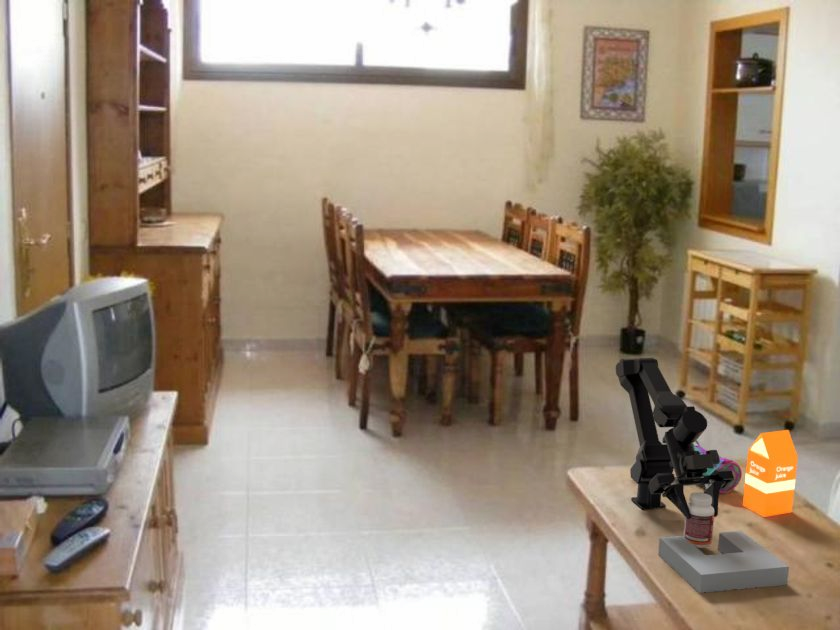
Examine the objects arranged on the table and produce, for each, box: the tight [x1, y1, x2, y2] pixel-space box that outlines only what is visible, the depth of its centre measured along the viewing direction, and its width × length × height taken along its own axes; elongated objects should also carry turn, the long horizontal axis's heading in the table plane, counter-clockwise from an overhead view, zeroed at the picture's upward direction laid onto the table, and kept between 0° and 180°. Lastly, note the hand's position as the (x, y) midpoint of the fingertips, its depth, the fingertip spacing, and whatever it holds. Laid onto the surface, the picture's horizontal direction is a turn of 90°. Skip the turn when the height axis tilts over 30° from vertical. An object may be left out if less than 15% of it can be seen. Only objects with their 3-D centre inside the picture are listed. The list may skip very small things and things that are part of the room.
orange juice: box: [742, 429, 799, 518], centre depth 242 cm, size 8×9×20 cm
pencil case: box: [693, 439, 743, 495], centre depth 261 cm, size 21×9×10 cm, turn 19°
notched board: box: [657, 530, 790, 594], centre depth 210 cm, size 18×20×4 cm
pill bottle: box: [682, 492, 715, 549], centre depth 219 cm, size 6×6×11 cm
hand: (702, 517), depth 217 cm, fingers closed on pill bottle, 6 cm apart
